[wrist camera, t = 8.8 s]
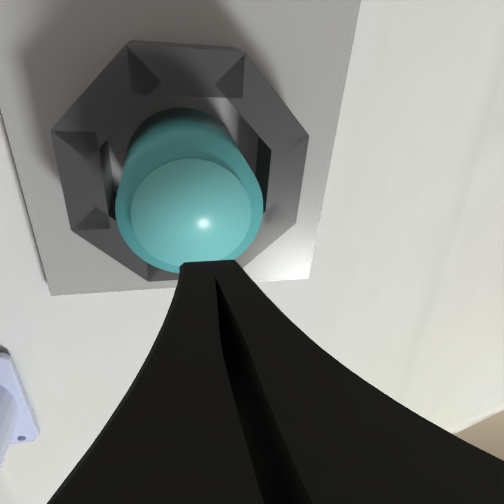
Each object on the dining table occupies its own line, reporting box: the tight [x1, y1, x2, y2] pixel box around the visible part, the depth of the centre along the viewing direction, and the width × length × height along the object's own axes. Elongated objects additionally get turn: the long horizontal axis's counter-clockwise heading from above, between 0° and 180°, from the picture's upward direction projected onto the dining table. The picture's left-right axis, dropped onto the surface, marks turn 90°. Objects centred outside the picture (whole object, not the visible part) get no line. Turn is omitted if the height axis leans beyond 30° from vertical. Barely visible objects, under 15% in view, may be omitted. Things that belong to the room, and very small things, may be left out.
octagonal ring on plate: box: [0, 0, 361, 296], centre depth 16 cm, size 14×14×3 cm
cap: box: [115, 107, 263, 273], centre depth 15 cm, size 5×5×5 cm
